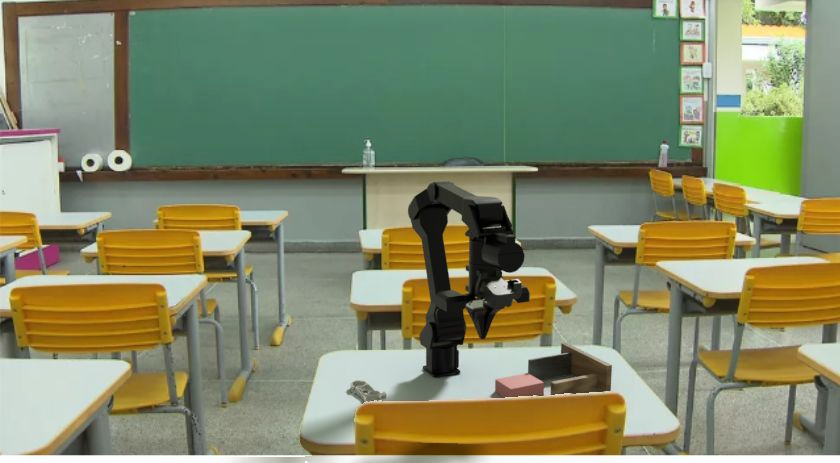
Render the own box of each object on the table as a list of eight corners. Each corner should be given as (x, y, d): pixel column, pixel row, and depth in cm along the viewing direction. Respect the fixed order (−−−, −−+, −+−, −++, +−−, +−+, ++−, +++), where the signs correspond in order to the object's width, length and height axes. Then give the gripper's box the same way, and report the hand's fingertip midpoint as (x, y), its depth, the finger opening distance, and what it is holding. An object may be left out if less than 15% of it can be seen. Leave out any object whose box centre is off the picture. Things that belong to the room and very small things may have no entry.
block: (510, 403, 153) (510, 389, 152) (495, 392, 158) (495, 379, 158) (543, 396, 156) (544, 382, 156) (527, 386, 161) (527, 373, 161)
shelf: (561, 402, 152) (562, 374, 151) (518, 376, 166) (519, 350, 165) (610, 392, 157) (611, 365, 156) (564, 367, 171) (565, 342, 170)
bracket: (347, 408, 146) (351, 378, 161) (347, 418, 146) (351, 387, 161) (386, 408, 146) (386, 378, 161) (386, 417, 147) (386, 386, 161)
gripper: (460, 275, 137) (460, 357, 140) (546, 265, 145) (544, 344, 148) (433, 263, 147) (433, 340, 150) (515, 254, 155) (514, 328, 158)
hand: (482, 338), depth 151 cm, fingers closed
